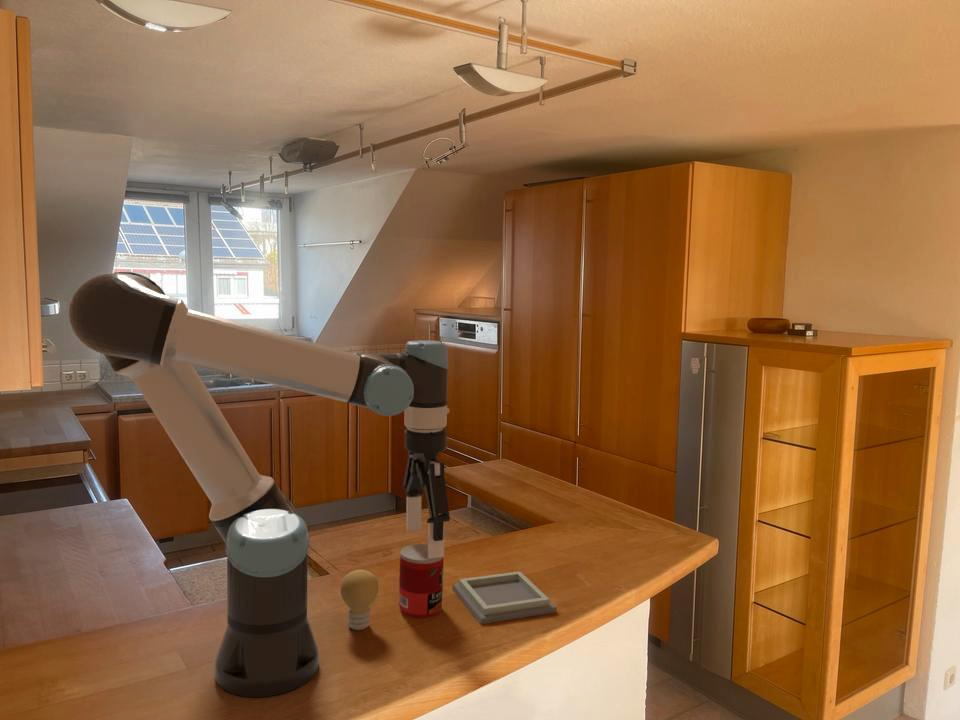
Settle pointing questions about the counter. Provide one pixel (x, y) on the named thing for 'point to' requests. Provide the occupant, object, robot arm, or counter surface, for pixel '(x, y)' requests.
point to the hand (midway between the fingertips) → (424, 543)
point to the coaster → (502, 597)
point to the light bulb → (359, 597)
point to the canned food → (420, 582)
